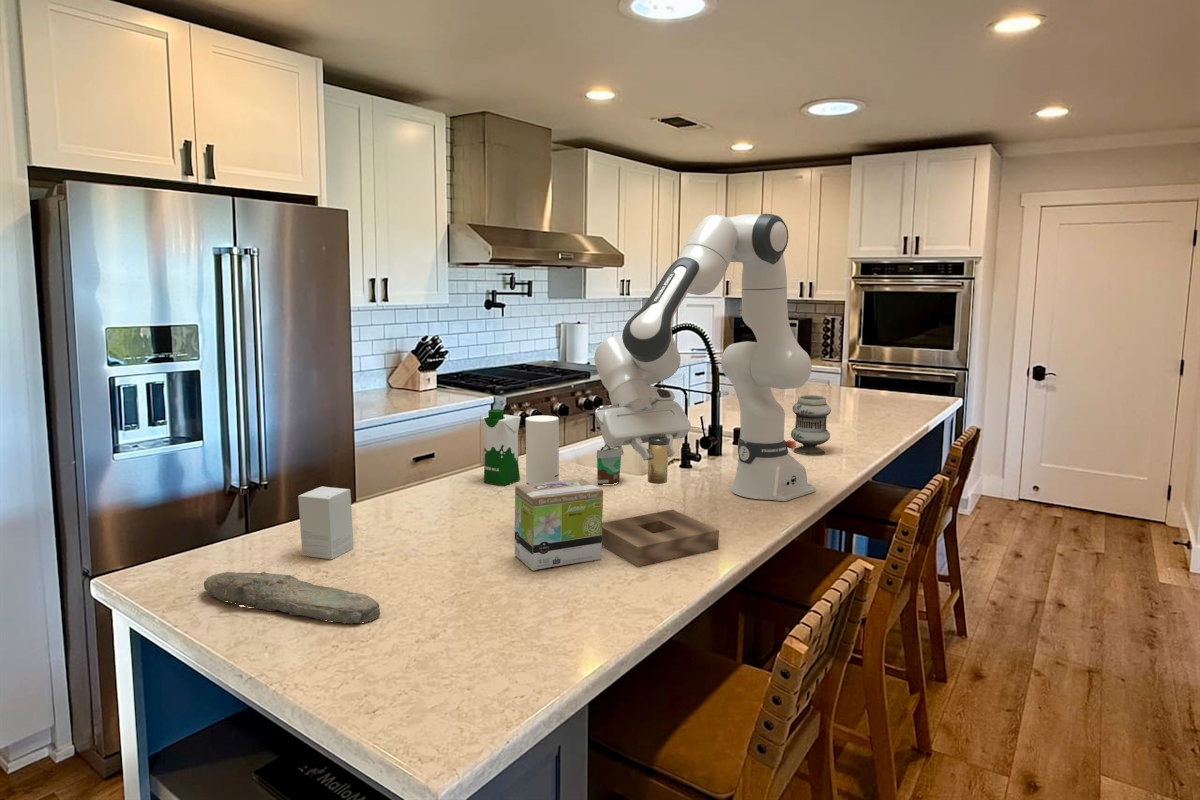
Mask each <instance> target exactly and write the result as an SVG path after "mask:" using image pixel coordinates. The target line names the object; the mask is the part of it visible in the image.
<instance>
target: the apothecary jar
mask: <svg viewBox="0 0 1200 800" xmlns="http://www.w3.org/2000/svg"><path fill="white" fill-rule="evenodd" d="M831 411H832V409H831V407H830V405H829V404H827V398H826V397H825V396H823V395H812V394H811V395H809V394H807V395H805V394H804V395H800V396H798V400H797V402H796V403H794V405H793V406H792V412H793V413H794V414H795V424H794V425H795V426H794V428H792V430H791V432H790V436H791V438H792V439H793V440H794V441H795V443H796V442H797V443H799V444H801V445H802V446H801V445H800V446H798V447H795V448H794V449H793V452H794V453H796V454H799V455H803V456H817V457H818V456H823V455H825V454H826V451H825V450H824V449H821V448H820V447H819V445H823V444H825V443H827V442H828V441H829V440H830V438H831V433H830V432H829V431H828V429H827V418H828V416H829V415H830V414H831ZM817 446H818V447H817Z"/></svg>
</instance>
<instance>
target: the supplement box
mask: <svg viewBox="0 0 1200 800" xmlns="http://www.w3.org/2000/svg"><path fill="white" fill-rule="evenodd" d="M351 495H352V494H351V489H350V488H339V487H333V486H332V487H329V486H319V487H316V488H314V489H312V490H309V491H306V492H304V493H301V494H300V495H297V499H298V514H299V527H300V541H301V555H303V556H302V557H309V556H310V557H311V558H316V559H317V558H319V559H323V560H324V559H325V560H334V559H336V558H338V557H339V556H341V555H344V554H345V553H347V552H349V551H351V550H352V549H354V546H355V544H354V531H353V529H354V527H353V513H352V512H353V511H352V496H351ZM310 557H309V558H310Z"/></svg>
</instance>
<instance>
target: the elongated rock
mask: <svg viewBox="0 0 1200 800" xmlns="http://www.w3.org/2000/svg"><path fill="white" fill-rule="evenodd" d="M203 588H204V590H206V591H207V595H208V597H214V598H215V599H217V600H218V601H221V600H222V602H224V601H228V602H232V603H236V604H237V605H244V606H248V607H254V608H253V609H258V608H260V609H259V610H261V609H263V610H262V611H269V612H275V611H280V612H283V613H286V614H287V613H289V615H290V616H303V617H308V618H312V619H314V618H315V619H314V620H318V619H320V621H323V620H327V621H326V622H328V621H333V622H342V623H343V624H344V625H346V623H347V624H352V623H362V622H367V623H369V622H368V621H370V622H372V621H371V620H373V621H375V620H377V619H378V618H379V617H380V615H381V609H380V604H379V602H377V600H375V599H374V598H372V597H371V596H369V595H367V594H364V593H359V592H350V591H349V590H344V589H340V588H334V587H329V586H323V585H319V584H318V585H316V584H313V583H311V582H307V581H303V580H300V579H299V578H297V577H294V576H292V575H291V574H280V573H279V574H277V573H270V572H265V571H263V572H259V573H258V572H241V571H240V572H231V571H226V572H220V573H216V574H213V575H210V576H208V577H207V578H206V579H205V580H204V582H203ZM236 604H235V605H236ZM237 605H236V606H237ZM270 610H271V611H270ZM378 616H379V617H378ZM377 617H378V618H377ZM321 619H322V620H321ZM374 619H375V620H374Z"/></svg>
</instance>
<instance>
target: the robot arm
mask: <svg viewBox="0 0 1200 800" xmlns="http://www.w3.org/2000/svg"><path fill="white" fill-rule="evenodd" d="M788 243H789V230H788V227H787V224H786V222H785V221H784V220H783V218H782V217H781V216H779V215H776V214H773V213H763V214H759V213H755V214H753V213H749V214H748V213H745V214H743V213H742V214H739V215H735V216H728V217H727V216H725V215H721V214H710V215H708V216H705V217H704V218H703V219H702V220H701V221H700V222H699V223H698V225H697V226H696V227H695V228H694V229H693V231H692V232H691V234H690V235H689V238H688V239H687V241H686V242H685V244H684V246H683V247H682V250H681V251H680V254H679V255H678V257H677V258H676V260H674V261H673V262H672V263H671V265H670V266H669V267H668V268H667V270H666V271H665V273H664V274H663V276H662V277H661V279H660V281H659V282H658V284H657V285H656V286H655V289H654V290H653V292H652V293H651V295H650V296H649V298H648V299H647V301H646V302H645V303H644V305H643V306H642V307H641V308H640V309H639V310H638V311H637V312H636V313H635V314H633V315H632V316H631V317H630V318H629V320H628V321H627V322H626V324H625V325H624V327H623V330H622V337H621V336H618V335H614V336H613V335H612V336H609V337H607V338H605V339H604V340H602V341H601V342H600V343H599V345H598V346H597V347H596V349H595V351H594V365H595V368H596V370H597V374H598V376H599V378H600V381H601V383H602V385H603V387H604V388H605V389H606V390H607V392H608V397H609V401H610V403H611V404H609V405H599V406H598V408H596V409H595V411H594V416H595V418H596V421H597V422H598V423H599V429H600V433H601V435H602V439H603V442H604V445H605V444H607V445H608V446H609V447H616V446H622V447H623V446H631V447H632V449H633V450H634V451H636V452H637V453H638V454H639V455H641V457H642V460H643V461H645V462H646V461H648V460H651V458H652V457H653V454H652V453H651V449H648V447H647V448H646V446H645V445H643V444H646V443H648V439H649V437H666V438H668V458H672V457H673V456H674V455H675V453H676V452H675V450H674V448H673V442H674V441H673V440H676V439H677V440H678V439H683V438H685V437H686V436H687V435H688V433H690V430H691V427H692V425H691V422H690V419H689V418H688V416H687V414H686V412H685V411H684V409H683V407H682V406H681V404H679V403H678V402H677V401H675V398H676V395H675V394H674V392H673V391H672V390H669V389H664V388H660V387H656V386H653V385H654V384H656V383H660V382H663V381H665V380H668V379H669V378H671V377H672V376H674V375H675V374H676V373H677V371H678V370H679V367H680V365H681V355H680V352H679V349H678V346H677V344H676V342H675V340H674V336H673V332H672V323H673V322H672V321H673V318H674V316H675V314H676V312H677V311H678V309H679V308H680V307H681V305H682V302H683V301H684V300H685V297H686V296H687V295H688V294H691V295H693V296H695V295H696V296H705V295H708V294H711V293H712V292H714V291H715V290H716V288H717V287H718V286H719V284H720V283H721V281H723V278H724V276H725V274H726V272H727V270H728V268H729V265H730V263H741V264H742V271H741V272H742V273H741V316H742V320H743V322H744V324H745V325H746V326H747V327H748V328H749V329H751V331H752V332H753V335H754V337H755V339H756V341H748V340H747V341H740V342H735V343H731V344H729V345H728V346H726V348H725V350H724V351H723V353H722V356H721V359H720V360H721V361H720V364H721V370H722V372H723V374H724V375H725V376H726V377H727V378H728V380H729V381H730V383H731V385H732V386H733V389H734V391H735V393H736V397H737V400H738V404H739V411H740V413H739V414H740V429H739V431H740V432H739V438H738V441H737V442H738V443H737V453H738V460H737V466H736V472H735V476H734V481H733V485H732V488H731V492H732V493H733V494H735V495H737V496H740V497H743V498H749V499H753V500H754V499H755V500H765V501H767V500H770V501H778V502H787V501H790V500H793V499H796V498H799V497H802V496H806V495H809V494H811V493H814V492H816V491H817V487H816V486H815V485H813V484H811V483H810V482H808V477H807V476H808V475H807V470H806V468H805V466H803V464H802V463H800V462H799V461H798V460H796V459H795V457H793V456H792V455H791V454H790V453H789V449H791V450H794V449H795V448H797V447H796V446H797V443H796V441H795V440H794V441H793V440H785V439H784V438H785V420H786V419H785V418H786V413H785V410H784V407H783V406H782V405H781V404H780V403H779V402H778V400H776V399H775V396H774V394H773V391H772V389H780V390H789V389H798V388H801V387H803V386H804V385H805V384H806V383H808V380H809V379H810V376H811V374H812V369H813V366H812V361H811V357H810V355H809V354H808V352H807V351H806V350H805V349H803V348H802V347H801V345H800V344H799V342H798V341H797V339H796V337H795V335H794V333H793V330H792V327H791V326H790V325H791V324H790V320H789V314H788V313H789V312H788V311H789V310H788V280H787V268H786V262H785V256H784V253H785V251H786V249H787V247H788Z"/></svg>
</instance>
